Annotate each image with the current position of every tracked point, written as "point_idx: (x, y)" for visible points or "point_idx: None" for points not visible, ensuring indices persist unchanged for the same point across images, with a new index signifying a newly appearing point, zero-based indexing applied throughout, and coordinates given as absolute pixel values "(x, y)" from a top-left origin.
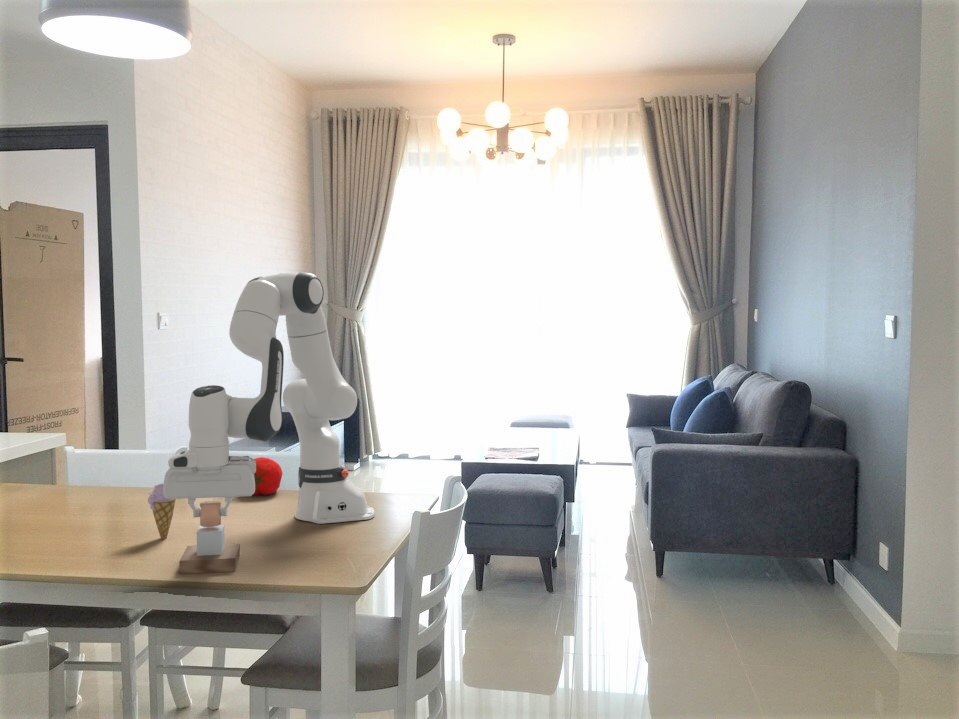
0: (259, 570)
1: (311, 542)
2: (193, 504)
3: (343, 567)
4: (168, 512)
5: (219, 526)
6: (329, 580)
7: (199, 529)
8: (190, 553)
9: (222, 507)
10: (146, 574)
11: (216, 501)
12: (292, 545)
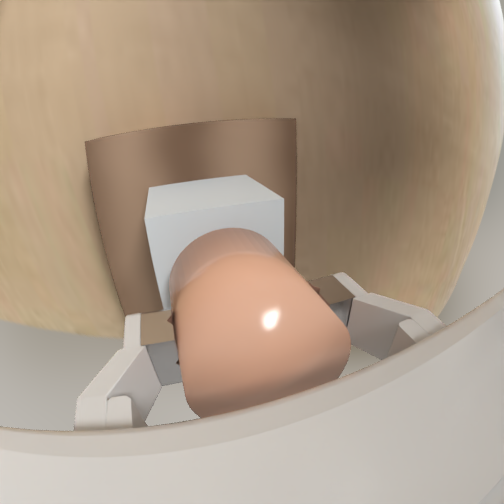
0: (333, 263)
1: (428, 48)
2: (137, 408)
3: (450, 241)
4: None
5: (262, 231)
6: (420, 305)
7: (168, 293)
8: (130, 247)
9: (339, 309)
10: (46, 301)
11: (322, 332)
12: (399, 54)
